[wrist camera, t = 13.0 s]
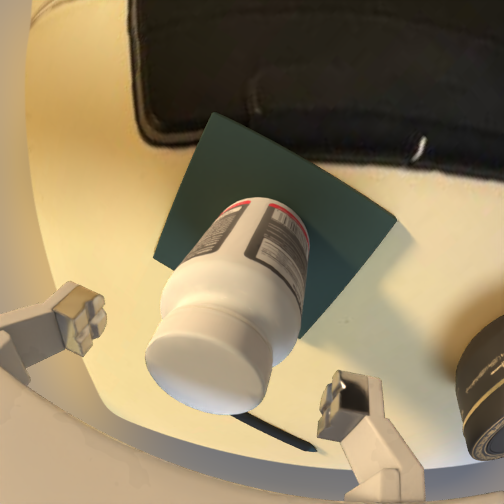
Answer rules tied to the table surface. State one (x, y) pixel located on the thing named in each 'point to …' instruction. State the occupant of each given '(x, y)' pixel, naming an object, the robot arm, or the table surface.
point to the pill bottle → (232, 309)
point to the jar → (483, 392)
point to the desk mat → (284, 191)
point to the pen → (274, 432)
